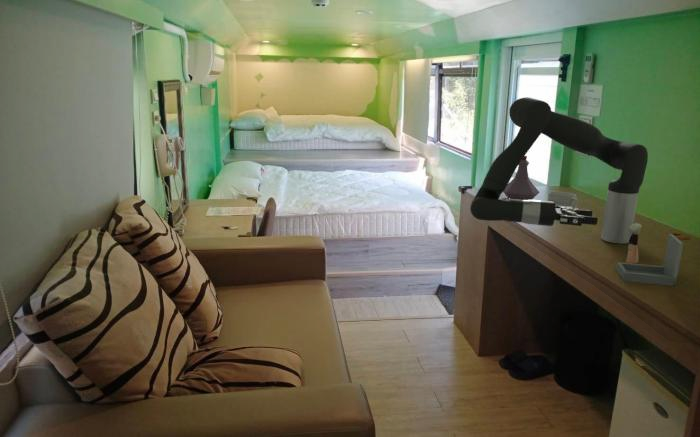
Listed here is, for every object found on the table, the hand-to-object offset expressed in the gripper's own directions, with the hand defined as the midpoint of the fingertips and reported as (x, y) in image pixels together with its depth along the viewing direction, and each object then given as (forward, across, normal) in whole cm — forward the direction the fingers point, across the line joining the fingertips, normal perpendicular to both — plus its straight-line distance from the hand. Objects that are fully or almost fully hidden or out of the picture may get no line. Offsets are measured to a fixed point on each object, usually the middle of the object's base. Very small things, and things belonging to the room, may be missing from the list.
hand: (594, 217), depth 157 cm
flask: (-16, +79, +13) cm, 82 cm away
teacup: (0, +60, +13) cm, 62 cm away
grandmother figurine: (+12, 0, +14) cm, 18 cm away
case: (+13, -11, +13) cm, 22 cm away
